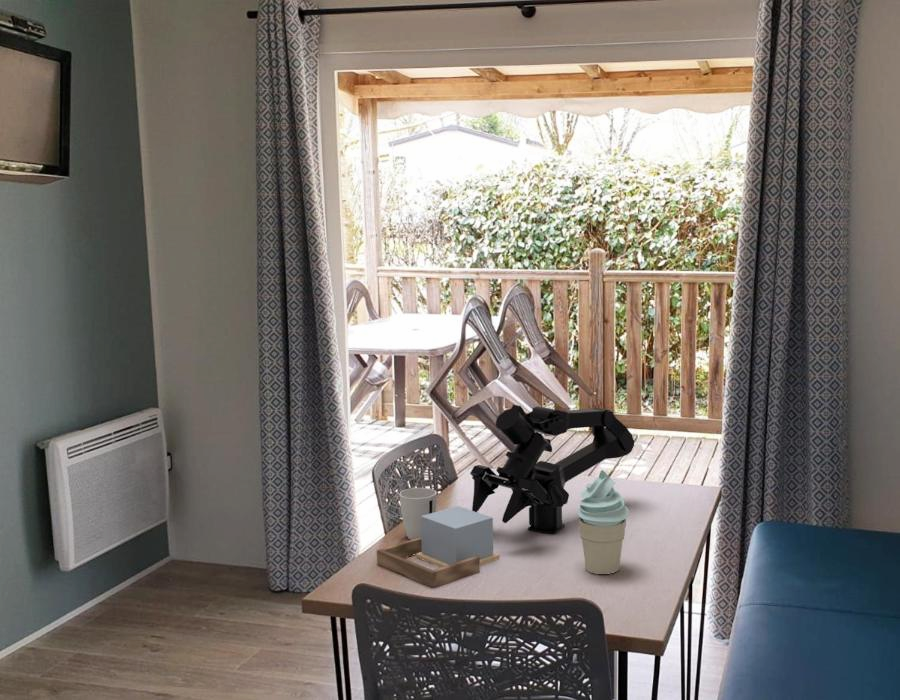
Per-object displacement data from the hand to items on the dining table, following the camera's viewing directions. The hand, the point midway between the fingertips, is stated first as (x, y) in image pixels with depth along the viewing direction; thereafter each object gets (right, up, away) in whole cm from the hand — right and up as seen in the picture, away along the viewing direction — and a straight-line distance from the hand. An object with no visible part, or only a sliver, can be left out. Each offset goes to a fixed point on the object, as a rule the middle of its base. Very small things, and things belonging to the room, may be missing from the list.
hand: (488, 517), depth 211 cm
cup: (-15, -6, +9) cm, 18 cm away
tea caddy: (-7, -8, -5) cm, 11 cm away
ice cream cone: (+22, -8, -13) cm, 27 cm away
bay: (-13, -9, -10) cm, 18 cm away
